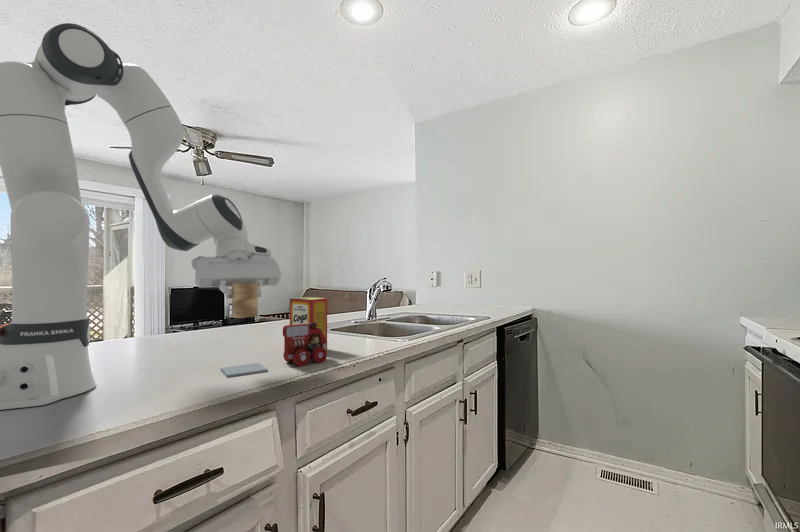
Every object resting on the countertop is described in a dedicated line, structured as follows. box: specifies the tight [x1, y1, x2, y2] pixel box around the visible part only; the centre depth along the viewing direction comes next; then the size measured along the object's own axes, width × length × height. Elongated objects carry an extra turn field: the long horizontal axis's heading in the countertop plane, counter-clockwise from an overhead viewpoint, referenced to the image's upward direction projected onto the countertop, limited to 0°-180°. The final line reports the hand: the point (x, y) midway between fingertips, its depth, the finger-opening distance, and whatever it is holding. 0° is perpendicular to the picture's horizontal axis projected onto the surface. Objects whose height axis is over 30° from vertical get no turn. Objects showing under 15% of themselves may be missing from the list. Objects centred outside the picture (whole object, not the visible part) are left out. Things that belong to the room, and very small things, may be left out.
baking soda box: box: [289, 296, 328, 345], centre depth 119 cm, size 10×6×16 cm
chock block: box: [231, 283, 259, 319], centre depth 94 cm, size 5×4×8 cm
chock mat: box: [220, 362, 269, 378], centre depth 93 cm, size 9×8×1 cm
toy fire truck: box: [282, 322, 328, 367], centre depth 102 cm, size 7×12×10 cm, turn 133°
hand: (244, 296), depth 94 cm, fingers closed on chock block, 5 cm apart
